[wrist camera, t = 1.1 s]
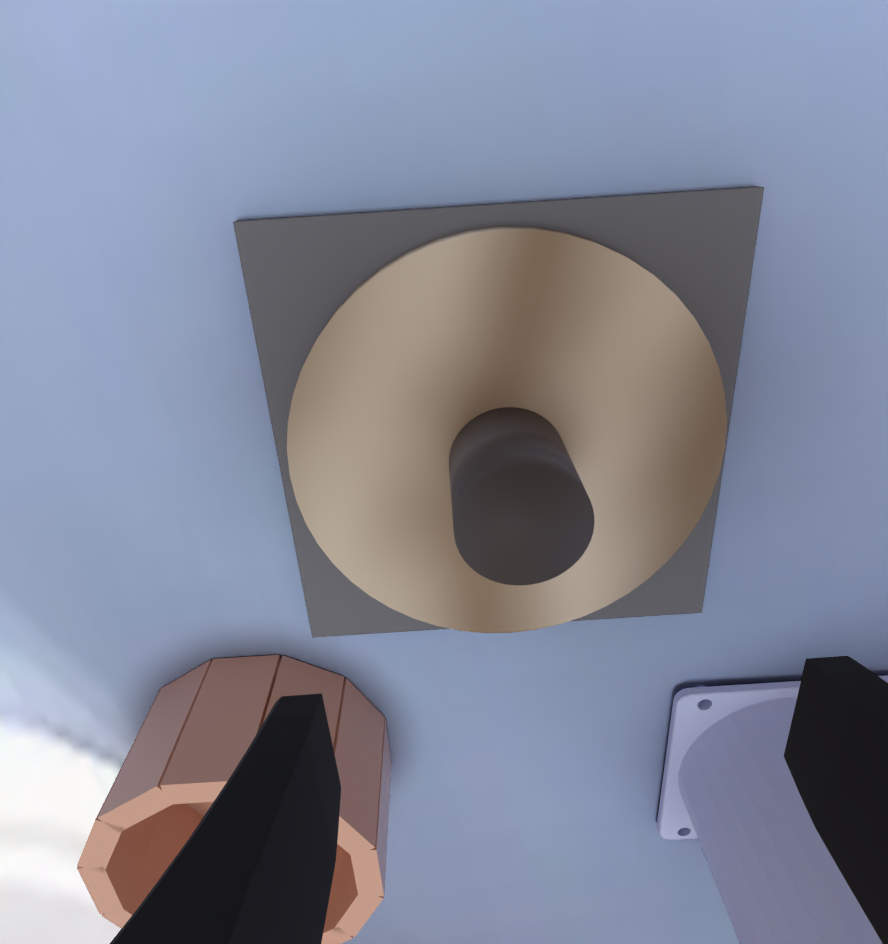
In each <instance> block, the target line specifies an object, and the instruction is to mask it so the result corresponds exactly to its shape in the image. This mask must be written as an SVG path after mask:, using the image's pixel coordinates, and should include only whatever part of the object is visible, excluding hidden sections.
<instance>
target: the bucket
mask: <svg viewBox="0 0 888 944" xmlns="http://www.w3.org/2000/svg"><path fill="white" fill-rule="evenodd" d="M321 693H322V696H323V701H324V706H325V711H326V716H327V720H328V725H329V730H330V735H331V740H332V745H333V750H334V754H335V759H336V764H337V769H338V774H339V779H340V783H341V799H340V813H339V828H338V840H337V852H336V862H335V868H334V874H333V880H332V886H331V891H330V897H329V903H328V909H327V914H326V920H325V926H324V931H323V937H322V942H321V944H341V943H343V942H345V941H348V940H350V939H353V937H355V936H356V935H357V933H358V932H359V931H360V929H361V928H362V927H363V925H364V924H365V923H366V921H367V920H368V918H369V917H370V916H371V914H372V913H373V912H374V910H375V909H376V908H377V906H378V905H379V904H380V902H381V901H382V900H383V898H384V889H385V871H386V853H387V835H388V817H389V799H390V782H391V764H392V762H391V755H390V747H389V740H388V732H387V725H386V719H385V717H384V716H383V715H382V714H381V713H380V712H379V711H378V710H377V709H376V708H375V707H374V706H373V705H372V704H371V702H370V701H369V700H368V699H367V698H366V697H365V696H364V695H363V694H362V693H361V692H360V691H359V690H358V689H357V688H356V687H355V686H354V685H353V684H352V683H351V682H350V681H349V680H348V679H347V678H346V679H344V676H341V675H338V674H335V673H333V672H330V671H327V670H324V669H321V668H318V667H315V666H312V665H310V664H307V663H304V662H301V661H298V660H295V659H292V658H289V657H287V656H284V655H282V657H281V658H280V655H267V656H251V657H235V658H219V659H213V661H211V660H209V661H207V662H206V663H204V664H202V665H200V666H199V667H197V668H195V669H194V670H192V671H190V672H188V673H187V674H185V675H183V676H181V677H180V678H178V679H176V680H175V681H173V682H171V683H169V684H168V685H166V686H164V687H163V688H161V690H160V691H159V693H158V695H157V697H156V699H155V701H154V703H153V705H152V707H151V709H150V711H149V713H148V715H147V717H146V719H145V721H144V723H143V725H142V727H141V729H140V731H139V733H138V735H137V737H136V739H135V741H134V743H133V745H132V747H131V749H130V751H129V753H128V755H127V757H126V759H125V761H124V763H123V765H122V767H121V769H120V771H119V773H118V775H117V777H116V779H115V782H114V784H113V786H112V788H111V790H110V792H109V794H108V796H107V798H106V800H105V802H104V804H103V806H102V808H101V810H100V812H99V814H98V816H97V818H96V820H95V822H94V825H93V827H92V830H91V832H90V835H89V837H88V840H87V842H86V845H85V847H84V850H83V852H82V855H81V857H80V860H79V862H78V865H77V866H78V868H77V869H78V871H79V873H80V875H81V877H82V879H83V881H84V883H85V885H86V887H87V889H88V891H89V893H90V895H91V897H92V899H93V901H94V903H95V905H96V908H97V910H98V912H99V914H102V916H103V917H104V918H106V919H107V920H109V921H110V922H112V923H114V924H115V925H117V926H118V927H120V928H121V929H122V928H123V926H124V925H125V924H126V923H127V921H128V920H129V919H130V917H131V916H132V915H133V914H134V912H135V911H136V910H137V908H138V907H139V906H140V905H141V903H142V902H143V901H144V899H145V898H146V896H147V895H148V894H149V892H150V891H151V890H152V888H153V887H154V886H155V884H156V883H157V881H158V880H159V879H160V877H161V876H162V875H163V873H164V872H165V871H166V869H167V868H168V866H169V865H170V864H171V862H172V861H173V860H174V858H175V857H176V856H177V854H178V853H179V851H180V850H181V849H182V847H183V846H184V845H185V843H186V842H187V840H188V839H189V838H190V836H191V835H192V833H193V832H194V830H195V829H196V827H197V826H198V824H199V823H200V821H201V820H202V818H203V817H204V815H205V814H206V812H207V811H208V809H209V808H210V806H211V805H212V803H213V802H214V800H215V799H216V798H217V796H218V795H219V793H220V792H221V790H222V789H223V787H224V786H225V784H226V783H227V781H228V779H229V778H230V776H231V775H232V773H233V772H234V770H235V768H236V767H237V765H238V764H239V762H240V760H241V759H242V757H243V756H244V754H245V753H246V751H247V749H248V748H249V746H250V744H251V743H252V741H253V739H254V738H255V736H256V734H257V733H258V731H259V729H260V728H261V726H262V724H263V723H264V721H265V719H266V718H267V716H268V714H269V713H270V711H271V709H272V707H273V706H274V704H275V702H276V701H277V700H278V699H279V698H280V697H281V696H293V695H307V694H321Z"/></svg>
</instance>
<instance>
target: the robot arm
mask: <svg viewBox="0 0 888 944" xmlns="http://www.w3.org/2000/svg"><path fill="white" fill-rule="evenodd" d="M704 699H705V700H704ZM701 700H704V701H701ZM700 701H701V702H700ZM340 799H341V783H340V779H339V774H338V769H337V764H336V759H335V754H334V750H333V745H332V740H331V735H330V730H329V725H328V720H327V716H326V711H325V706H324V701H323V696H322V693H321V694H307V695H293V696H281V697H280V698H279V699H278V700H277V701H276V702H275V704H274V706H273V707H272V709H271V711H270V713H269V714H268V716H267V718H266V719H265V721H264V723H263V724H262V726H261V728H260V729H259V731H258V733H257V734H256V736H255V738H254V739H253V741H252V743H251V744H250V746H249V748H248V749H247V751H246V753H245V754H244V756H243V757H242V759H241V760H240V762H239V764H238V765H237V767H236V768H235V770H234V772H233V773H232V775H231V776H230V778H229V779H228V781H227V783H226V784H225V786H224V787H223V789H222V790H221V792H220V793H219V795H218V796H217V798H216V799H215V800H214V802H213V803H212V805H211V806H210V808H209V809H208V811H207V812H206V814H205V815H204V817H203V818H202V820H201V821H200V823H199V824H198V826H197V827H196V829H195V830H194V832H193V833H192V835H191V836H190V838H189V839H188V840H187V842H186V843H185V845H184V846H183V847H182V849H181V850H180V851H179V853H178V854H177V856H176V857H175V858H174V860H173V861H172V862H171V864H170V865H169V866H168V868H167V869H166V871H165V872H164V873H163V875H162V876H161V877H160V879H159V880H158V881H157V883H156V884H155V886H154V887H153V888H152V890H151V891H150V892H149V894H148V895H147V896H146V898H145V899H144V901H143V902H142V903H141V905H140V906H139V907H138V908H137V910H136V911H135V912H134V914H133V915H132V916H131V917H130V919H129V920H128V921H127V923H126V924H125V925H124V926H123V928H122V929H121V930H120V931H119V933H118V934H117V935H116V937H115V938H114V939H113V940H112V942H111V943H110V944H321V942H322V937H323V931H324V926H325V920H326V914H327V909H328V903H329V897H330V891H331V886H332V880H333V874H334V868H335V862H336V852H337V840H338V828H339V813H340ZM657 829H658V832H659V835H660V836H661V837H662V838H664V839H667V840H677V839H693V838H698V840H699V842H700V845H701V847H702V850H703V852H704V855H705V857H706V860H707V862H708V865H709V867H710V870H711V873H712V875H713V878H714V880H715V883H716V885H717V888H718V890H719V893H720V895H721V898H722V900H723V903H724V905H725V908H726V910H727V913H728V915H729V918H730V920H731V923H732V925H733V928H734V930H735V933H736V936H737V938H738V941H739V943H740V944H888V675H886V676H877V675H876V674H874V673H873V672H871V671H870V670H868V669H867V668H865V667H864V666H862V665H861V664H859V663H858V662H856V661H855V660H853V659H852V658H850V657H848V656H839V657H825V658H811V659H806V661H805V666H804V670H803V674H802V679H801V681H791V682H775V683H759V684H743V685H727V686H711V687H695V688H685V689H682V690H680V691H679V692H678V693H677V694H676V695H675V697H674V699H673V707H672V714H671V722H670V729H669V737H668V745H667V752H666V760H665V767H664V775H663V783H662V790H661V798H660V805H659V813H658V820H657Z"/></svg>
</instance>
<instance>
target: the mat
mask: <svg viewBox="0 0 888 944" xmlns="http://www.w3.org/2000/svg"><path fill="white" fill-rule="evenodd" d="M763 191H764V187H742V188H726V189H711V190H696V191H681V192H665V193H650V194H635V195H620V196H605V197H589V198H574V199H559V200H544V201H528V202H513V203H498V204H483V205H467V206H452V207H437V208H422V209H407V210H391V211H376V212H361V213H346V214H330V215H315V216H300V217H285V218H270V219H254V220H239V221H235V222H233V224H234V229H235V234H236V239H237V245H238V250H239V255H240V260H241V266H242V271H243V276H244V281H245V287H246V292H247V297H248V302H249V308H250V313H251V318H252V323H253V329H254V334H255V339H256V344H257V350H258V355H259V360H260V366H261V371H262V376H263V381H264V387H265V392H266V397H267V402H268V408H269V413H270V418H271V423H272V429H273V434H274V439H275V444H276V450H277V455H278V460H279V465H280V471H281V476H282V481H283V486H284V492H285V497H286V502H287V507H288V513H289V518H290V523H291V528H292V534H293V539H294V544H295V549H296V555H297V560H298V565H299V570H300V576H301V581H302V586H303V591H304V597H305V602H306V607H307V612H308V618H309V623H310V628H311V633H312V637H326V636H342V635H358V634H373V633H389V632H405V631H421V630H437V629H450V628H445V627H440V626H436V625H432V624H429V623H426V622H423V621H420V620H417V619H414V618H411V617H409V616H407V615H405V614H402V613H400V612H398V611H396V610H393V609H391V608H389V607H388V606H386V605H384V604H383V603H381V602H379V601H378V600H376V599H374V598H372V597H371V596H369V595H368V594H367V593H365V592H364V591H363V590H362V589H360V588H359V587H358V586H356V585H355V584H354V583H352V582H351V581H350V580H349V579H348V578H347V577H346V576H345V575H344V574H343V573H342V572H341V571H340V570H339V569H338V568H337V567H336V566H335V565H334V564H333V563H332V562H331V560H330V559H329V558H328V557H327V555H326V554H325V553H324V551H323V550H322V549H321V548H320V546H319V545H318V544H317V542H316V540H315V538H314V537H313V535H312V533H311V532H310V530H309V528H308V526H307V525H306V523H305V521H304V518H303V516H302V513H301V511H300V508H299V506H298V504H297V501H296V498H295V494H294V490H293V486H292V483H291V479H290V474H289V465H288V456H287V430H288V419H289V413H290V408H291V402H292V397H293V393H294V390H295V387H296V384H297V381H298V378H299V375H300V372H301V369H302V367H303V365H304V363H305V361H306V359H307V357H308V355H309V353H310V351H311V349H312V347H313V345H314V343H315V342H316V340H317V338H318V336H319V335H320V333H321V332H322V330H323V329H324V327H325V326H326V324H327V323H328V322H329V320H330V319H331V317H332V316H333V314H334V313H335V312H336V310H337V309H338V308H339V307H340V305H341V304H342V303H343V302H344V301H345V300H346V299H347V298H348V297H349V296H350V295H351V294H352V293H353V292H354V290H355V289H356V288H357V287H358V286H360V285H361V284H362V283H363V282H365V281H366V280H367V279H368V278H369V277H371V276H372V275H373V274H374V273H376V272H377V271H378V270H379V269H381V268H382V267H384V266H385V265H387V264H388V263H390V262H392V261H393V260H395V259H397V258H398V257H400V256H402V255H403V254H405V253H407V252H408V251H411V250H413V249H415V248H418V247H420V246H422V245H425V244H427V243H429V242H432V241H434V240H436V239H439V238H443V237H447V236H450V235H454V234H457V233H461V232H464V231H469V230H476V229H484V228H491V227H498V226H507V227H536V228H543V229H550V230H557V231H562V232H566V233H569V234H573V235H576V236H579V237H583V238H586V239H589V240H592V241H594V242H596V243H598V244H601V245H603V246H605V247H607V248H609V249H611V250H613V251H616V252H618V253H620V254H622V255H623V256H625V257H627V258H629V259H631V260H632V261H634V262H635V263H637V264H638V265H640V266H641V267H643V268H644V269H646V270H647V271H649V272H650V273H652V274H653V275H655V276H656V277H657V278H658V279H659V280H660V281H661V282H662V283H663V284H665V285H666V286H667V287H668V288H669V289H670V290H671V291H672V292H673V293H674V294H676V295H677V297H678V298H679V299H680V300H681V302H682V303H683V304H684V305H685V306H686V308H687V309H688V310H689V311H690V313H691V314H692V315H693V316H694V318H695V319H696V321H697V323H698V324H699V326H700V328H701V329H702V331H703V333H704V335H705V336H706V338H707V340H708V342H709V344H710V346H711V349H712V351H713V354H714V356H715V359H716V362H717V364H718V367H719V370H720V375H721V379H722V384H723V388H724V392H725V402H726V416H727V427H726V440H725V450H724V454H723V459H722V464H721V468H720V473H719V476H718V479H717V481H716V484H715V487H714V490H713V492H712V495H711V498H710V500H709V502H708V504H707V506H706V508H705V510H704V512H703V513H702V515H701V517H700V519H699V521H698V523H697V524H696V526H695V527H694V528H693V530H692V531H691V533H690V534H689V536H688V537H687V539H686V540H685V542H684V543H683V544H682V545H681V546H680V547H679V549H678V550H677V551H676V552H675V553H674V554H673V556H672V557H671V558H670V559H669V560H668V561H667V562H666V563H665V564H664V565H663V566H662V567H661V568H660V569H659V570H657V571H656V572H655V573H654V574H653V575H652V576H651V577H650V578H649V579H647V580H646V581H645V582H643V583H642V584H641V585H639V586H638V587H636V588H635V589H634V590H632V591H631V592H630V593H628V594H627V595H625V596H623V597H621V598H620V599H618V600H616V601H614V602H613V603H611V604H609V605H608V606H606V607H604V608H601V609H599V610H597V611H595V612H592V613H590V614H588V615H586V616H583V617H581V618H577V619H574V620H571V621H578V620H594V619H610V618H626V617H642V616H657V615H673V614H689V613H702V608H703V601H704V594H705V587H706V580H707V574H708V567H709V560H710V553H711V546H712V539H713V533H714V526H715V519H716V512H717V505H718V498H719V492H720V485H721V478H722V471H723V464H724V457H725V451H726V444H727V437H728V430H729V423H730V416H731V410H732V403H733V396H734V389H735V382H736V375H737V369H738V362H739V355H740V348H741V341H742V334H743V328H744V321H745V314H746V307H747V300H748V293H749V287H750V280H751V273H752V266H753V259H754V252H755V246H756V239H757V232H758V225H759V218H760V211H761V205H762V198H763Z"/></svg>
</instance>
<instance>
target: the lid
mask: <svg viewBox="0 0 888 944" xmlns="http://www.w3.org/2000/svg"><path fill="white" fill-rule="evenodd" d="M726 427H727V416H726V402H725V392H724V388H723V384H722V379H721V375H720V370H719V367H718V364H717V362H716V359H715V356H714V354H713V351H712V349H711V346H710V344H709V342H708V340H707V338H706V336H705V335H704V333H703V331H702V329H701V328H700V326H699V324H698V323H697V321H696V319H695V318H694V316H693V315H692V314H691V313H690V311H689V310H688V309H687V308H686V306H685V305H684V304H683V303H682V302H681V300H680V299H679V298H678V297H677V295H676V294H674V293H673V292H672V291H671V290H670V289H669V288H668V287H667V286H666V285H665V284H663V283H662V282H661V281H660V280H659V279H658V278H657V277H656V276H655V275H653V274H652V273H650V272H649V271H647V270H646V269H644V268H643V267H641V266H640V265H638V264H637V263H635V262H634V261H632V260H631V259H629V258H627V257H625V256H623V255H622V254H620V253H618V252H616V251H613V250H611V249H609V248H607V247H605V246H603V245H601V244H598V243H596V242H594V241H592V240H589V239H586V238H583V237H579V236H576V235H573V234H569V233H566V232H562V231H557V230H550V229H543V228H536V227H507V226H498V227H491V228H484V229H476V230H469V231H464V232H461V233H457V234H454V235H450V236H447V237H443V238H439V239H436V240H434V241H432V242H429V243H427V244H425V245H422V246H420V247H418V248H415V249H413V250H411V251H408V252H407V253H405V254H403V255H402V256H400V257H398V258H397V259H395V260H393V261H392V262H390V263H388V264H387V265H385V266H384V267H382V268H381V269H379V270H378V271H377V272H376V273H374V274H373V275H372V276H371V277H369V278H368V279H367V280H366V281H365V282H363V283H362V284H361V285H360V286H358V287H357V288H356V289H355V290H354V292H353V293H352V294H351V295H350V296H349V297H348V298H347V299H346V300H345V301H344V302H343V303H342V304H341V305H340V307H339V308H338V309H337V310H336V312H335V313H334V314H333V316H332V317H331V319H330V320H329V322H328V323H327V324H326V326H325V327H324V329H323V330H322V332H321V333H320V335H319V336H318V338H317V340H316V342H315V343H314V345H313V347H312V349H311V351H310V353H309V355H308V357H307V359H306V361H305V363H304V365H303V367H302V369H301V372H300V375H299V378H298V381H297V384H296V387H295V390H294V393H293V397H292V402H291V408H290V413H289V419H288V430H287V456H288V465H289V474H290V479H291V483H292V486H293V490H294V494H295V498H296V501H297V504H298V506H299V508H300V511H301V513H302V516H303V518H304V521H305V523H306V525H307V526H308V528H309V530H310V532H311V533H312V535H313V537H314V538H315V540H316V542H317V544H318V545H319V546H320V548H321V549H322V550H323V551H324V553H325V554H326V555H327V557H328V558H329V559H330V560H331V562H332V563H333V564H334V565H335V566H336V567H337V568H338V569H339V570H340V571H341V572H342V573H343V574H344V575H345V576H346V577H347V578H348V579H349V580H350V581H351V582H352V583H354V584H355V585H356V586H358V587H359V588H360V589H362V590H363V591H364V592H365V593H367V594H368V595H369V596H371V597H372V598H374V599H376V600H378V601H379V602H381V603H383V604H384V605H386V606H388V607H389V608H391V609H393V610H396V611H398V612H400V613H402V614H405V615H407V616H409V617H411V618H414V619H417V620H420V621H423V622H426V623H429V624H432V625H436V626H440V627H445V628H450V629H455V630H460V631H470V632H480V633H512V632H520V631H529V630H536V629H541V628H546V627H550V626H555V625H559V624H562V623H565V622H568V621H571V620H574V619H577V618H581V617H583V616H586V615H588V614H590V613H592V612H595V611H597V610H599V609H601V608H604V607H606V606H608V605H609V604H611V603H613V602H614V601H616V600H618V599H620V598H621V597H623V596H625V595H627V594H628V593H630V592H631V591H632V590H634V589H635V588H636V587H638V586H639V585H641V584H642V583H643V582H645V581H646V580H647V579H649V578H650V577H651V576H652V575H653V574H654V573H655V572H656V571H657V570H659V569H660V568H661V567H662V566H663V565H664V564H665V563H666V562H667V561H668V560H669V559H670V558H671V557H672V556H673V554H674V553H675V552H676V551H677V550H678V549H679V547H680V546H681V545H682V544H683V543H684V542H685V540H686V539H687V537H688V536H689V534H690V533H691V531H692V530H693V528H694V527H695V526H696V524H697V523H698V521H699V519H700V517H701V515H702V513H703V512H704V510H705V508H706V506H707V504H708V502H709V500H710V498H711V495H712V492H713V490H714V487H715V484H716V481H717V479H718V476H719V473H720V468H721V464H722V459H723V454H724V450H725V440H726Z"/></svg>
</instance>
